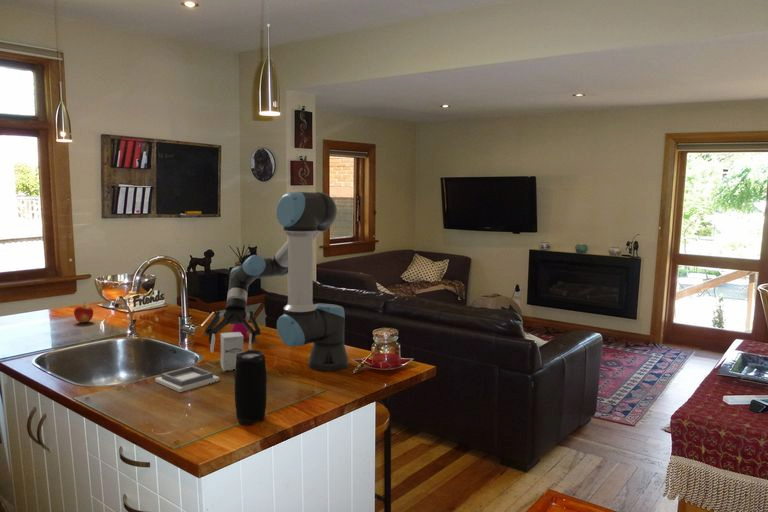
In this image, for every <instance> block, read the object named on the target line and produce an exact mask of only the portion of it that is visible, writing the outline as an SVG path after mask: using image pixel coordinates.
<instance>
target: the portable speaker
mask: <svg viewBox="0 0 768 512" xmlns="http://www.w3.org/2000/svg"><path fill="white" fill-rule="evenodd" d="M233 380H234V403H235V404H234V407H235V414H236V419H237V420H238V423H239V424H241V425H243V426H252V425H253V423H255V422H258V421H261V422H264V421H265V419H266V417H265V416H266V409H267V398H268V397H267V365H266V358H265V354H264V353H263V352H262V351H261V350H258V349H251V350H248V349H247V350H245V351H244V352H242V353H238V354H237V357H236V366H235V370H234V378H233Z"/></svg>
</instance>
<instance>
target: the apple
mask: <svg viewBox="0 0 768 512" xmlns="http://www.w3.org/2000/svg"><path fill="white" fill-rule="evenodd" d="M73 313H74V314H73V315H74V318H75V319H76V321H77V322H79V323H80V324H82V323H88V322H90V321H91V320H92V319H93V316H94V310H93V308H92V307H91V306H90V305H86V302H84V304H81V305H78V306H76V307H75V308H74V310H73Z"/></svg>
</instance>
